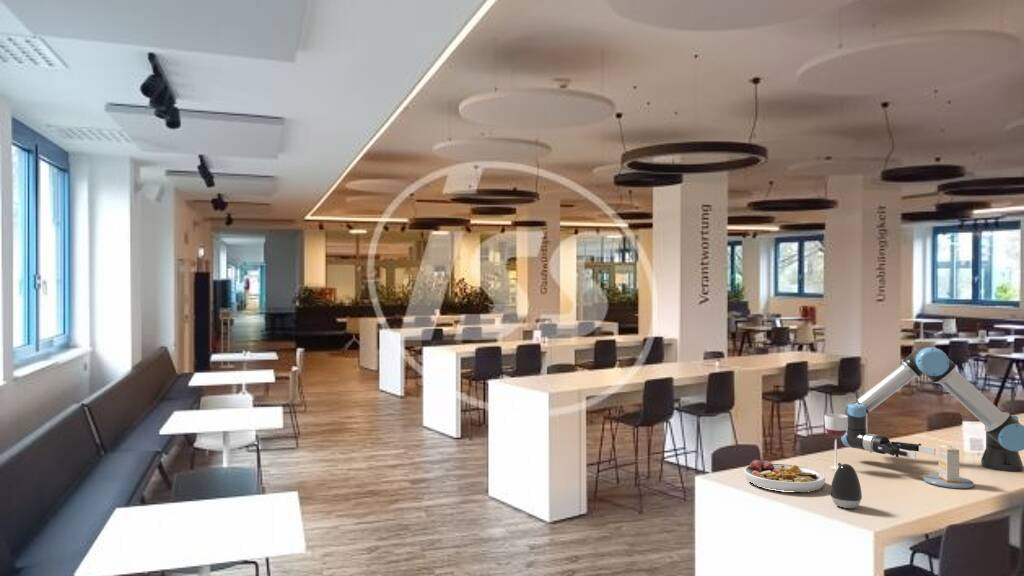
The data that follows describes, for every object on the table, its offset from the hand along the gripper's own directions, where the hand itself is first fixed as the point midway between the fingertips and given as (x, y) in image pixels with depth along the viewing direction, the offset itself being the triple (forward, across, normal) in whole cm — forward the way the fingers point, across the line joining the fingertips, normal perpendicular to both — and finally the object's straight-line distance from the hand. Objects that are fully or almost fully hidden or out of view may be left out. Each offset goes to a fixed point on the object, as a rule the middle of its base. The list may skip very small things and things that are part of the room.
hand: (925, 453), depth 297 cm
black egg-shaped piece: (+9, +64, -10) cm, 65 cm away
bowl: (-22, +59, -11) cm, 64 cm away
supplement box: (+9, 0, -9) cm, 13 cm away
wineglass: (-28, +19, -10) cm, 35 cm away
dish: (+9, 0, -10) cm, 14 cm away
